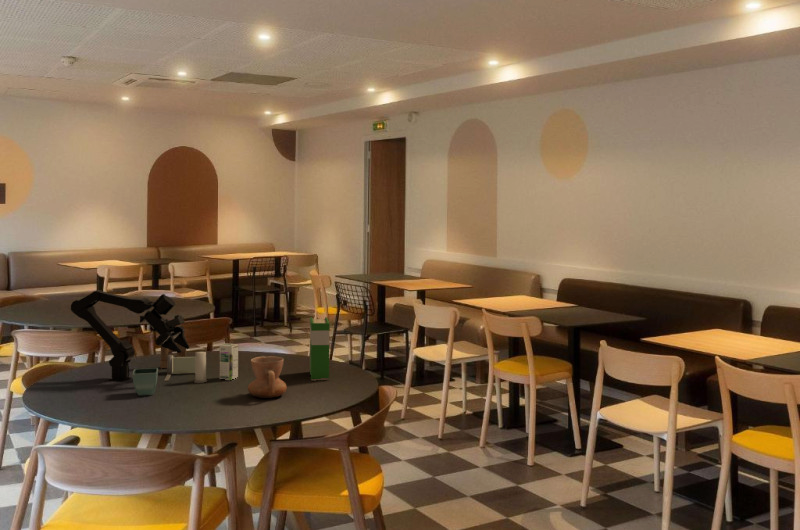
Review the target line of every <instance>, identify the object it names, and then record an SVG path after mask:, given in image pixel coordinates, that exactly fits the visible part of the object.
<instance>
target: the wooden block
mask: <svg viewBox="0 0 800 530" xmlns="http://www.w3.org/2000/svg"><path fill="white" fill-rule="evenodd" d="M186 336H187V335H186V334H184V337H185V339H186V340H187V337H186ZM176 344H177V343H176ZM177 346H178V347H179V348H180V350H181V353H177V352H175V351H172V350H170V349H167V348H164V347H161V346H160V360H159V363H160V364H159V365H160V366H159V367H160V369H161V370H163V369H162V368H166V369H167V355H170V353H176V357H187V349H186V348H184V347H183V346H181V345H179V344H177Z"/></svg>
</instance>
